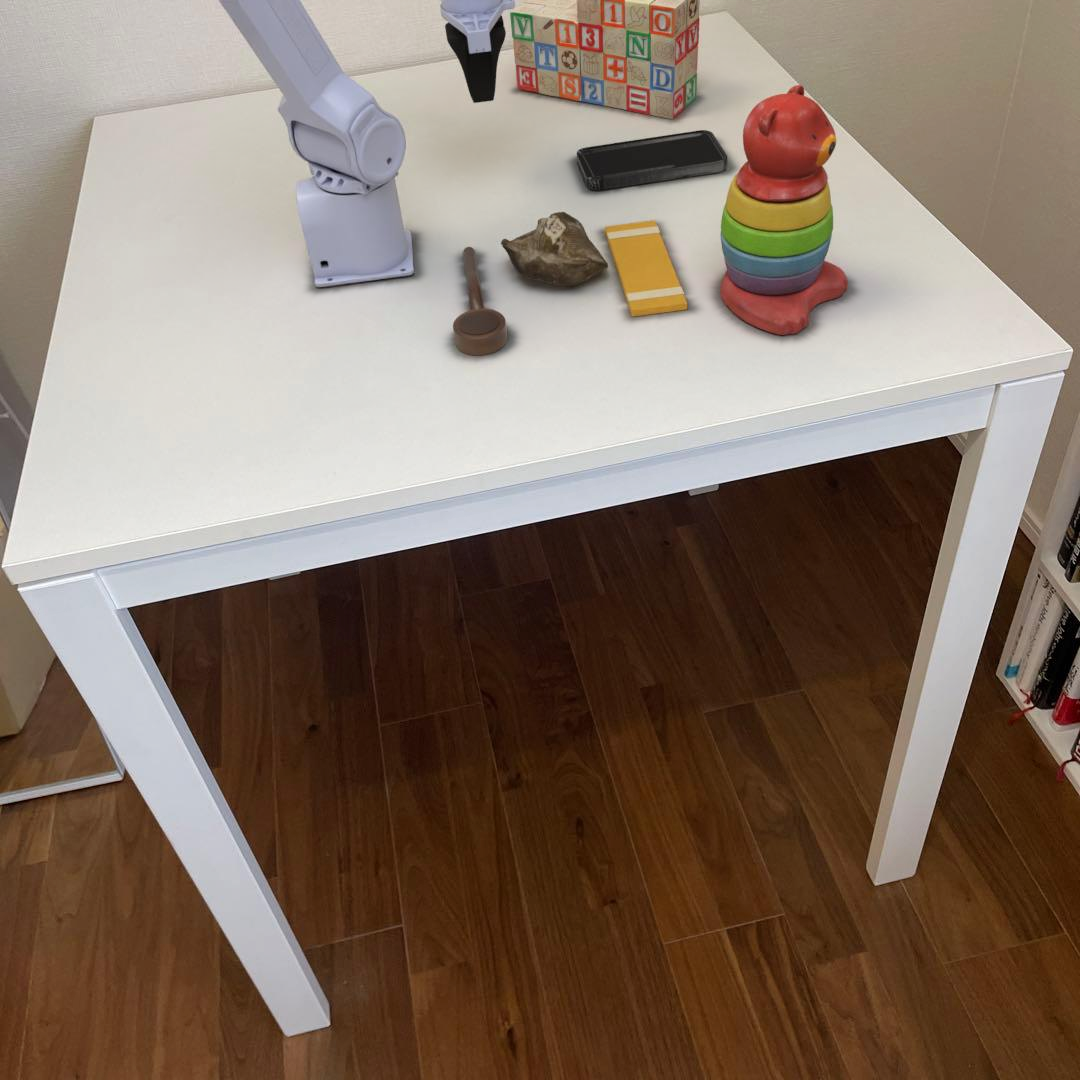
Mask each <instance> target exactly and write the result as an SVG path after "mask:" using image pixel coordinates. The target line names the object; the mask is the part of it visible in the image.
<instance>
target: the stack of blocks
mask: <svg viewBox="0 0 1080 1080" xmlns="http://www.w3.org/2000/svg"><path fill="white" fill-rule="evenodd" d="M700 3H701V0H525V1H524V2H523V3H521V4H519V5H518V6H517V7H515V8H513V9H511V10H510V12H509V16H510V27H511V28H510V29H511V38H512V41H513V54H514V55H513V56H514V64H515V74H516V75H515V76H516V86H517V89H518V90H522V91H527V92H533V93H539V94H540V95H545V96H549V97H550V96H551V97H557V98H562V99H566V100H572V101H577V102H584V103H589V104H594V105H597V106H598V105H599V106H605V107H609V108H610V107H611V108H615V109H619V110H624V111H625V110H626V111H628V112H629V111H630V112H634V113H638V114H639V113H640V114H644V115H651V116H653V117H658V118H663V119H669V120H674V119H675V118H676V117H678V116H679V115H680V114H681V113H682V112H683V111H685V109H686V108H687V107H688V106H690V104H691V103H693V102H694V101H695V100H696V99H697V92H698V91H697V90H698V57H699V43H700V5H701V4H700Z"/></svg>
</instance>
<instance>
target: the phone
mask: <svg viewBox="0 0 1080 1080" xmlns="http://www.w3.org/2000/svg"><path fill="white" fill-rule="evenodd" d="M576 164H577V166H578V169H579V172H580V174H581V176H582V178H583V181H584V184H585V186H586V188H587V189H589V190H592V191H603V190H610V189H611V190H612V189H617V188H623V187H630V186H636V185H644V184H650V183H657V182H662V181H669V180H675V179H682V178H683V179H684V178H689V177H696V176H702V175H703V176H704V175H709V174H715V173H716V174H717V173H721V172H723V171H726V170H727V168H728V154H727V153H726V151H725V150H724V148H723V147H722V145H721V144H720V142H719V141H718V139H717V137H716V136H715V135H714V133H713V132H712V131H710V130H706V129H701V130H700V129H699V130H694V131H693V130H692V131H685V132H680V133H679V132H678V133H673V134H666V135H659V136H653V137H646V138H640V139H633V140H626V141H625V140H624V141H619V142H612V143H606V144H599V145H593V146H585V147H581V148H579V149H577V151H576Z"/></svg>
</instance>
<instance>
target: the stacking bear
mask: <svg viewBox="0 0 1080 1080" xmlns="http://www.w3.org/2000/svg"><path fill="white" fill-rule="evenodd" d="M742 142H743V143H742V145H743V146H742V147H743V151H744V154H745V157H746V160H747V161H746V162H744V164H743V165H742V166H741V167H740V169H739V171H738V172H737V173H736V174H735V175H734V177H733V178H732V180H731V182H730V185H729V188H728V191H727V195H726V200H725V203H724V206H723V210H722V215H721V223H720V243H721V251H722V254H723V259H724V264H725V269H726V270H725V273H724V274H723V276H722V280H721V282H720V286H719V287H720V288H719V291H720V292H719V293H720V297H721V299H722V301H723V303H724V304H725V305H726V306H727V308H729V310H730V311H731V312H732V313H733V314H735V315H736V316H737V317H738V318H740V319H741V320H743V321H744V322H746V323H748V324H750V325H752V326H754V327H756V328H757V329H761V330H763V331H766V332H768V333H772V334H774V335H780V336H781V335H782V336H784V335H792V334H793V335H794V334H797V333H799V332H801V331H802V330H803V329H805V328H807V326H808V325H809V322H810V321H809V320H810V319H809V318H810V317H809V316H810V313H811V312H812V310H813V309H814V308H815V307H817V306H818V305H820V303H823V302H826V301H831V300H834V299H837V298H839V297H841V296H842V295H843V294H844V293H845V292H846V291H847V290H848V287H849V280H848V277H847V275H846V274H845V271H844V270H843V269H841V268H840V267H839V266H838V265H835V264H833V263H831V262H829V261H827V260H826V257H827V255H828V252H829V248H830V245H831V241H832V236H833V230H834V209H833V205H832V204H833V203H832V197H831V196H832V195H831V190H830V184H829V181H828V178H829V177H828V173H827V171H826V169H825V167H824V165H825V164H826V163H827V162H828V161H829V159H830V158H831V156H832V155H833V153H834V151H835V148H836V145H837V135H836V132H835V129H834V126H833V125H832V122H831V121H830V120H829V118H828V116H827V115H826V113H825V111H824V110H823V109H822V107H821V106H820V104H818V103H817V102H816V101H815V100H814V99H812V98H810V97H808V96H806V95H805V88H804V86H803V85H801V84H797V85H794V86H791V87H790V88H789V89H788V91H787V93H779V94H775V95H771V96H769V97H767V98H765V99H762V100H761V101H759V102H758V103H757V104H756V105H755V106H754V107H753V108H752V109H751V111H750V112H749V114H748V115H747V117H746V120H745V122H744V125H743V129H742Z"/></svg>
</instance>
